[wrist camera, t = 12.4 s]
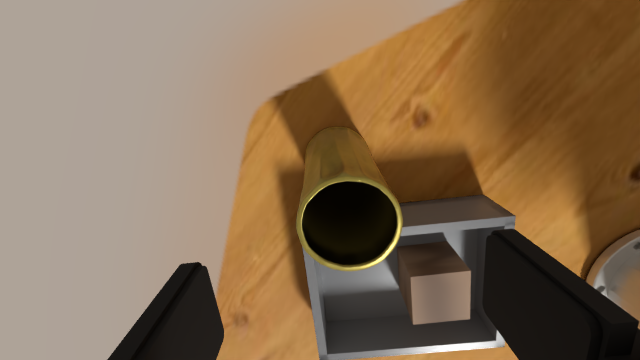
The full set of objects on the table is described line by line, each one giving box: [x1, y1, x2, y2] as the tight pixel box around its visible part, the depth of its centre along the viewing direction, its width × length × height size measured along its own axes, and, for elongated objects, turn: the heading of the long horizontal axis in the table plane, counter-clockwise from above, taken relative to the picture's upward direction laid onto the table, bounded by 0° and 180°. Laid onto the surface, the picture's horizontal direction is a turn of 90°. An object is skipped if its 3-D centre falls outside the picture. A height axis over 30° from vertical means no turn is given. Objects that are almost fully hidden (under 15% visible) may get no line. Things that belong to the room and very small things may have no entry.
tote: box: [302, 195, 515, 360], centre depth 29 cm, size 18×14×5 cm
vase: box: [296, 127, 403, 271], centre depth 21 cm, size 6×6×14 cm
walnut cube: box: [397, 241, 471, 325], centre depth 28 cm, size 5×5×5 cm
